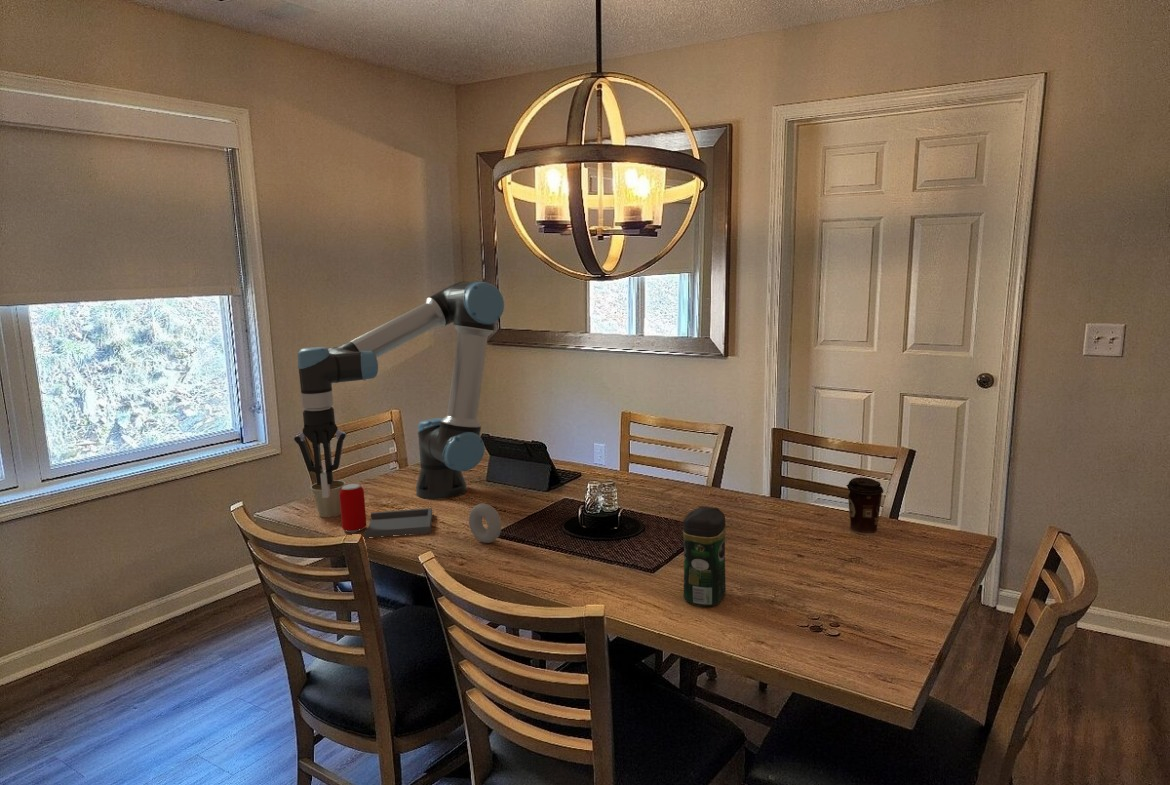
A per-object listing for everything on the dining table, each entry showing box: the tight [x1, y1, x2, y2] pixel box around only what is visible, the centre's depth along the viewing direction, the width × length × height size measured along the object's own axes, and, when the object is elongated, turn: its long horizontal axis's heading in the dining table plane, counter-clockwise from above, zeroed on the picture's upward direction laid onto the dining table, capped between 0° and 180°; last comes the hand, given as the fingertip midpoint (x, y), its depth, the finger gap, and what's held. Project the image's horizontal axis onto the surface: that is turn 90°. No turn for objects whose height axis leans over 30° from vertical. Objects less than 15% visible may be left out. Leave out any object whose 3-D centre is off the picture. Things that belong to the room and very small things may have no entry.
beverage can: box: [339, 483, 367, 534], centre depth 191 cm, size 6×6×12 cm
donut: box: [468, 503, 502, 544], centre depth 180 cm, size 10×4×10 cm, turn 54°
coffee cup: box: [846, 477, 884, 536], centre depth 182 cm, size 9×8×13 cm
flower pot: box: [309, 479, 347, 519], centre depth 204 cm, size 9×9×9 cm
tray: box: [363, 507, 433, 540], centre depth 194 cm, size 16×15×2 cm
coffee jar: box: [682, 505, 727, 607], centre depth 147 cm, size 10×8×19 cm
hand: (326, 496), depth 190 cm, fingers closed
